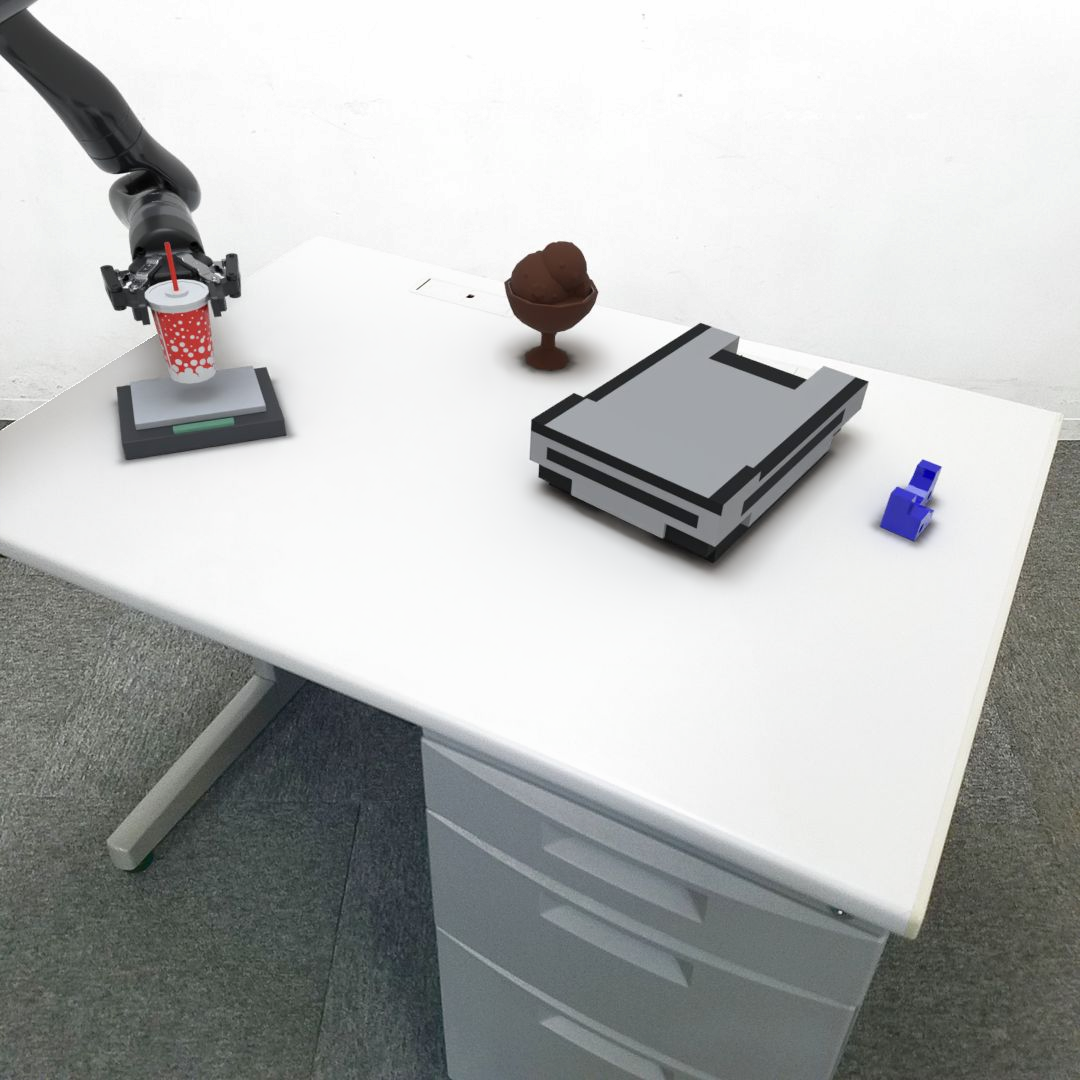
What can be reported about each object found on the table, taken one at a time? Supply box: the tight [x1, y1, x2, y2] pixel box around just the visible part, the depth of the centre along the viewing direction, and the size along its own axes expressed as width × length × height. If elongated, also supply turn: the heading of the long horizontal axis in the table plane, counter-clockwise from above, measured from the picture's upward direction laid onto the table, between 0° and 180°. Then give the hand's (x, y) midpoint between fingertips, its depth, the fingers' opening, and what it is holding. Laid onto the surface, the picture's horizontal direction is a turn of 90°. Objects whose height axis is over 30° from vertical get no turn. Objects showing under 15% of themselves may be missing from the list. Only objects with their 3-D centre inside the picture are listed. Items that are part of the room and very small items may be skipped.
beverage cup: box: [145, 242, 217, 384], centre depth 96 cm, size 6×6×14 cm
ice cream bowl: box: [503, 240, 599, 372], centre depth 113 cm, size 11×11×15 cm
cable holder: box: [879, 458, 943, 542], centre depth 94 cm, size 8×4×4 cm, turn 141°
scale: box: [116, 365, 287, 460], centre depth 103 cm, size 16×12×3 cm
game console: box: [529, 322, 870, 564], centre depth 99 cm, size 21×32×8 cm, turn 142°
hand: (181, 311), depth 94 cm, fingers closed on beverage cup, 6 cm apart
